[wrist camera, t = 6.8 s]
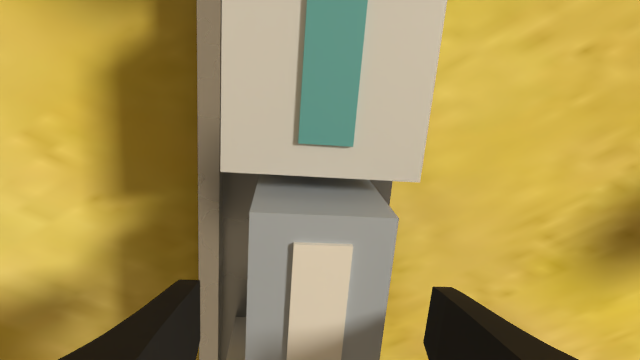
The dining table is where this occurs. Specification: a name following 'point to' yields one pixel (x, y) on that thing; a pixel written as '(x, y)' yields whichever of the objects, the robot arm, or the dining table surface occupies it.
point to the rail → (222, 201)
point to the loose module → (318, 269)
